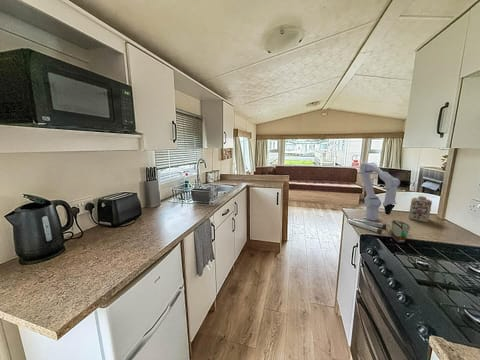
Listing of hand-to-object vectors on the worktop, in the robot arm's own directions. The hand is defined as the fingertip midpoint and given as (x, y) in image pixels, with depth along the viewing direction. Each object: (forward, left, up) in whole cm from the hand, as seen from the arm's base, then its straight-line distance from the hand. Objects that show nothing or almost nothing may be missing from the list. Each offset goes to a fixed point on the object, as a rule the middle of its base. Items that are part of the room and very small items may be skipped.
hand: (387, 214), depth 143 cm
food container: (+17, +15, -9) cm, 24 cm away
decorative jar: (-40, +6, -9) cm, 41 cm away
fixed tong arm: (+18, -6, -8) cm, 21 cm away
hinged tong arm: (+11, -7, -8) cm, 16 cm away
